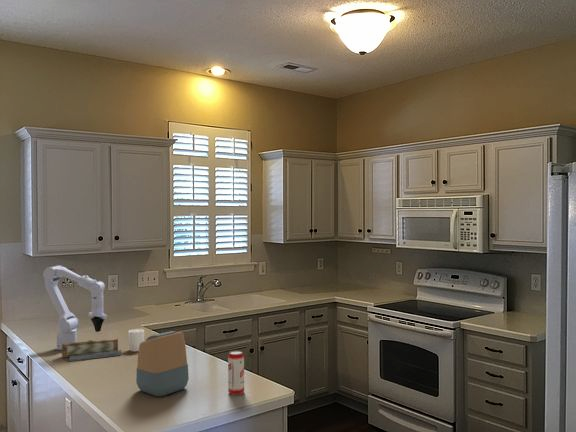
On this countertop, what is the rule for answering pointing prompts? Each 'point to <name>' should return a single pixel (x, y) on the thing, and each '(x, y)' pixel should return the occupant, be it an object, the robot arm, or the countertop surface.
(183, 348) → the two-tone smart speaker
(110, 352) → the slanted bar
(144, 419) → the countertop surface
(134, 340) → the white cup
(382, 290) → the countertop surface
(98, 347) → the picture frame
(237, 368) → the beer can
